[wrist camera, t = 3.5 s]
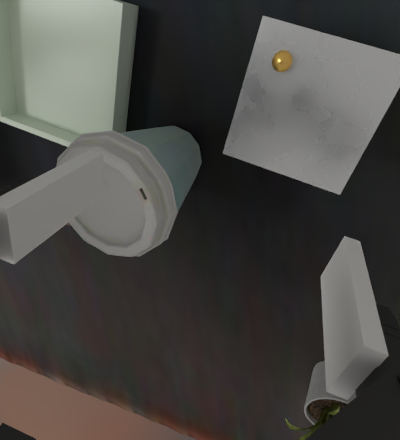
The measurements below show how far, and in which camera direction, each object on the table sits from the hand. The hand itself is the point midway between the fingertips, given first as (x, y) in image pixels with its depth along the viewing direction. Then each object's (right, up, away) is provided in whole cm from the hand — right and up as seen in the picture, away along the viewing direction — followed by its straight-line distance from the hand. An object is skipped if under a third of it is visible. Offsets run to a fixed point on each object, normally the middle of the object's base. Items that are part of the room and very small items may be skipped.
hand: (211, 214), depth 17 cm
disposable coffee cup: (-3, +8, +20) cm, 21 cm away
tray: (-15, +17, +19) cm, 29 cm away
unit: (+9, +11, +12) cm, 19 cm away
